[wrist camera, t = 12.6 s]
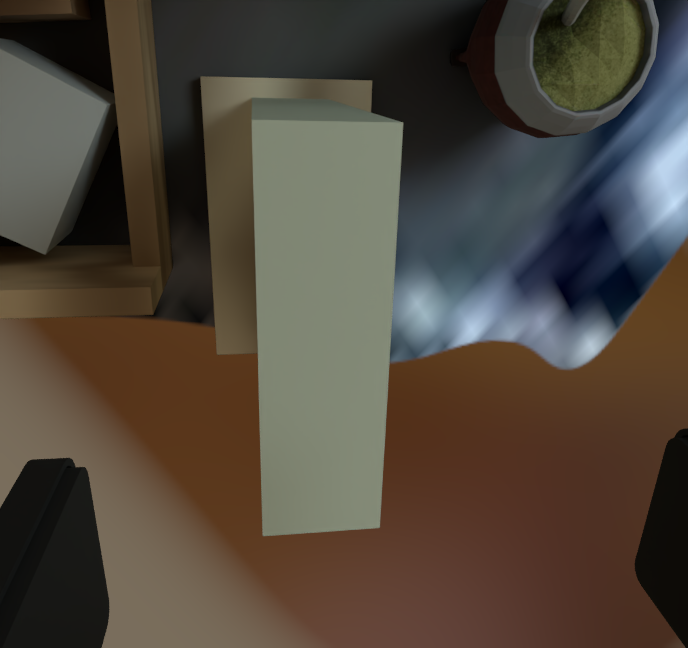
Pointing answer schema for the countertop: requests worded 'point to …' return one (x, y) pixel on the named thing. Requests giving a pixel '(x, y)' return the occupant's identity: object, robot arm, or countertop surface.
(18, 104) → the offcut grey
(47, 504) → the robot arm
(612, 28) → the mate gourd
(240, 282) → the cork board
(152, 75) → the oak rack
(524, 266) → the countertop surface
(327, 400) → the sage panel
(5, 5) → the offcut walnut
